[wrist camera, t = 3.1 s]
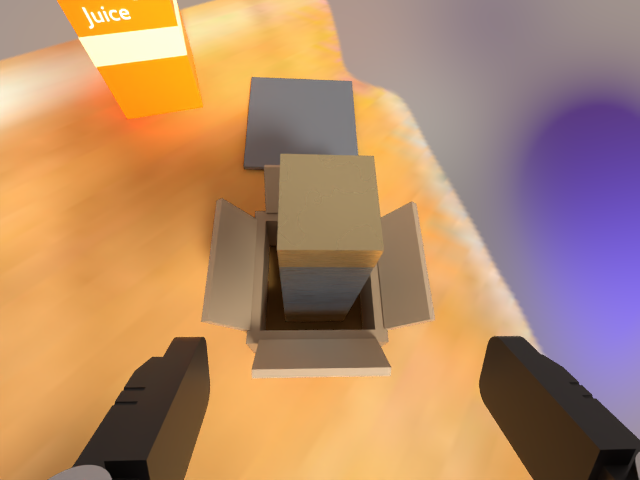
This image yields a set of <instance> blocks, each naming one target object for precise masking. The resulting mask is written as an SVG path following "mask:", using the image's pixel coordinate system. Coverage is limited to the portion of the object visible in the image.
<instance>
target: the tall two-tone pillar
mask: <svg viewBox="0 0 640 480" xmlns="http://www.w3.org/2000/svg"><path fill="white" fill-rule="evenodd" d="M383 252H384V245H383V236H382V227H381V218H380V208H379V199H378V190H377V181H376V172H375V163H374V156H355V155H317V154H280V179H279V207H278V235H277V254H278V263H279V271H280V279H281V288H282V296H283V304H284V313H285V321H286V322H343V320H344V319H345V317H346V315H347V313H348V312H349V310H350V308H351V307H352V305H353V303H354V301H355V300H356V298H357V296H358V295H359V293H360V291H361V289H362V288H363V286H364V284H365V283H366V281H367V279H368V277H369V276H370V274H371V272H372V270H373V269H374V267H375V265H376V264H377V262H378V260H379V258H380V257H381V255H382V253H383Z"/></svg>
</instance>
